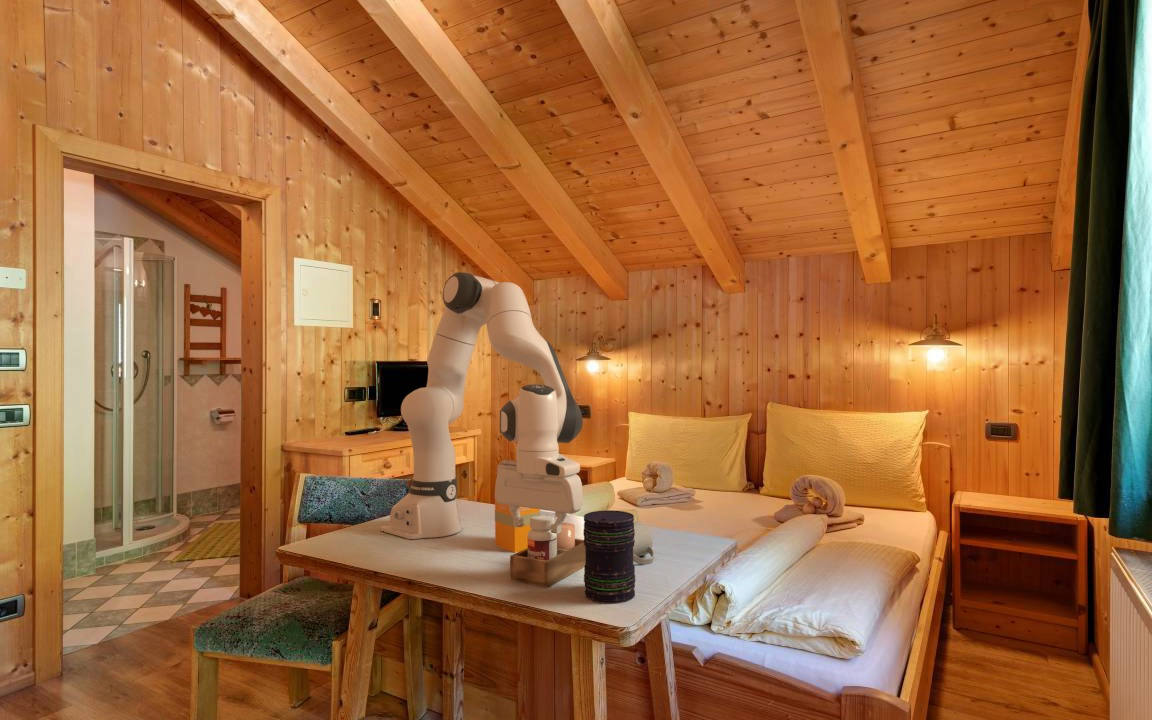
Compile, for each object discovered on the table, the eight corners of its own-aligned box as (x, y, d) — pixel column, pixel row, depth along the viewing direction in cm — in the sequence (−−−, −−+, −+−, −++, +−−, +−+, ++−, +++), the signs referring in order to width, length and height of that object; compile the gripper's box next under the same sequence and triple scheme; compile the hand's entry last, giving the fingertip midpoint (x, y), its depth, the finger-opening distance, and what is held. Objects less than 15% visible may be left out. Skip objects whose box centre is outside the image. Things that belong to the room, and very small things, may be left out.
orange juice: (514, 553, 147) (513, 468, 147) (494, 545, 154) (493, 464, 154) (541, 546, 152) (540, 464, 152) (520, 539, 159) (520, 461, 159)
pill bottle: (522, 575, 128) (521, 520, 128) (536, 566, 134) (535, 514, 134) (549, 579, 126) (548, 523, 126) (562, 570, 131) (561, 516, 131)
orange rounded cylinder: (544, 564, 136) (544, 527, 136) (558, 557, 140) (557, 521, 141) (566, 567, 133) (566, 530, 133) (579, 560, 138) (579, 524, 138)
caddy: (510, 580, 128) (510, 555, 128) (555, 557, 143) (555, 535, 143) (548, 587, 123) (547, 562, 123) (590, 563, 138) (590, 540, 138)
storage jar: (595, 583, 125) (594, 508, 126) (641, 589, 122) (640, 512, 122) (576, 599, 116) (575, 519, 116) (626, 607, 112) (625, 524, 113)
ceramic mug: (604, 557, 143) (604, 523, 143) (630, 550, 148) (630, 518, 148) (637, 569, 135) (637, 533, 135) (663, 561, 140) (663, 527, 140)
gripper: (488, 460, 132) (488, 526, 132) (570, 469, 122) (570, 540, 121) (506, 457, 138) (506, 519, 137) (586, 465, 127) (586, 533, 127)
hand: (537, 529), depth 129 cm, fingers open, 8 cm apart
